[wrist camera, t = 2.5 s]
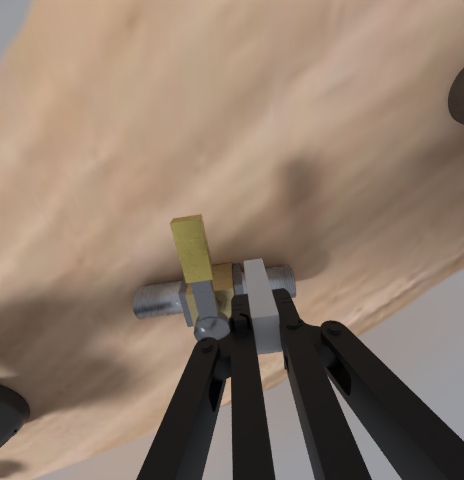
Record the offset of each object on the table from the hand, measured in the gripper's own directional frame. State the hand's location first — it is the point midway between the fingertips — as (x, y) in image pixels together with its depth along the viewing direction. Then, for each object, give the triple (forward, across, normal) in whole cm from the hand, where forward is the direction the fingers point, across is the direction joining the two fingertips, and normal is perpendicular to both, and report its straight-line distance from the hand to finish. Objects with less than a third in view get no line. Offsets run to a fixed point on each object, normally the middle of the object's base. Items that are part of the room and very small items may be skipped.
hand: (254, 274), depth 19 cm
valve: (+16, -6, -11) cm, 20 cm away
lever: (+7, -6, -5) cm, 10 cm away
